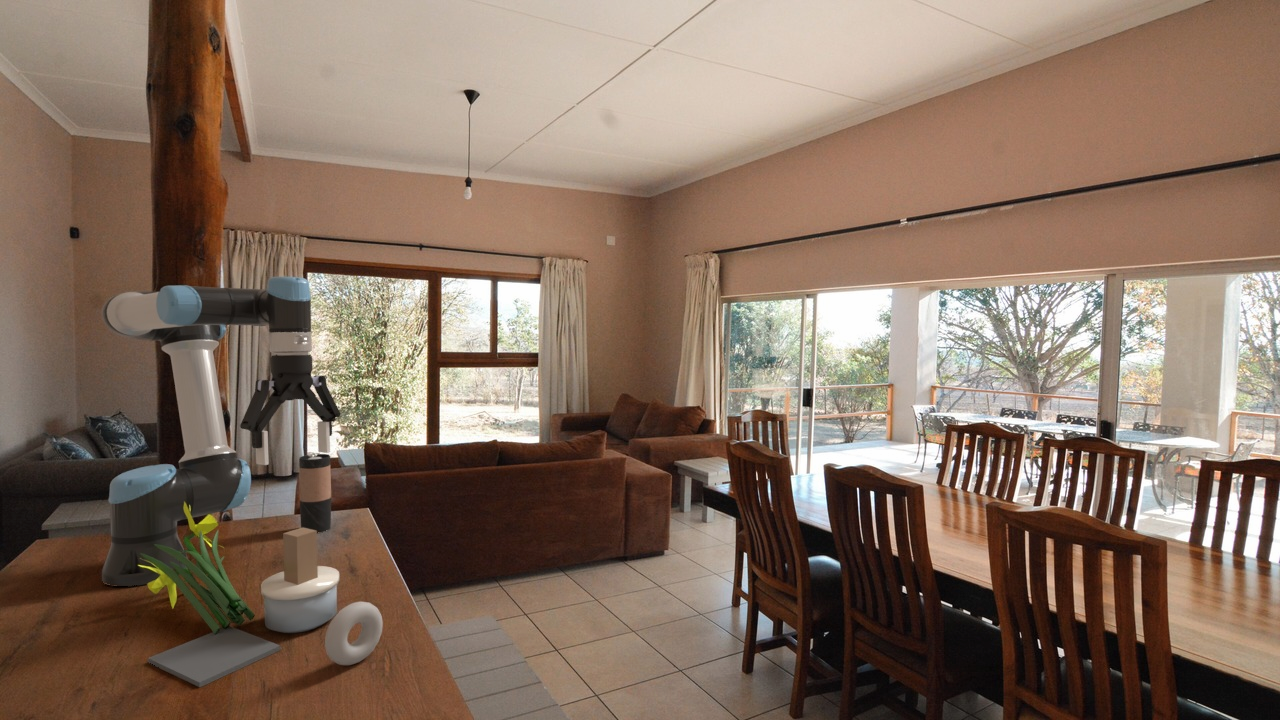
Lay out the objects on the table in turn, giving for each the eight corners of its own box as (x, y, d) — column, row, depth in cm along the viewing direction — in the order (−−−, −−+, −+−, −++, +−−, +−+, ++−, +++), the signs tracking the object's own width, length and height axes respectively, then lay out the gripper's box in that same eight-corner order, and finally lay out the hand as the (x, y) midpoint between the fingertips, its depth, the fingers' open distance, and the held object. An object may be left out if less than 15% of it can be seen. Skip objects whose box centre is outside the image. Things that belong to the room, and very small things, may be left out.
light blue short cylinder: (250, 627, 119) (249, 590, 119) (310, 602, 130) (309, 568, 129) (292, 643, 113) (291, 604, 113) (350, 615, 124) (350, 580, 124)
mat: (148, 662, 106) (147, 658, 106) (229, 629, 118) (228, 625, 118) (199, 687, 100) (199, 682, 99) (280, 650, 111) (280, 645, 111)
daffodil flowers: (162, 657, 108) (105, 560, 129) (240, 666, 120) (177, 576, 140) (227, 565, 113) (162, 486, 133) (297, 583, 124) (227, 507, 144)
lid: (245, 590, 118) (244, 536, 118) (310, 567, 130) (309, 517, 129) (290, 605, 112) (289, 548, 112) (354, 580, 124) (353, 527, 123)
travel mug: (318, 535, 170) (317, 460, 169) (293, 533, 172) (292, 458, 171) (337, 526, 178) (336, 454, 177) (313, 524, 179) (312, 453, 178)
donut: (374, 646, 113) (374, 590, 112) (387, 652, 111) (386, 595, 110) (320, 672, 104) (319, 612, 104) (333, 679, 102) (332, 617, 102)
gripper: (241, 356, 118) (245, 471, 119) (355, 352, 140) (358, 449, 141) (216, 356, 121) (220, 468, 122) (332, 351, 143) (335, 446, 144)
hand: (294, 458), depth 131 cm, fingers open, 13 cm apart
